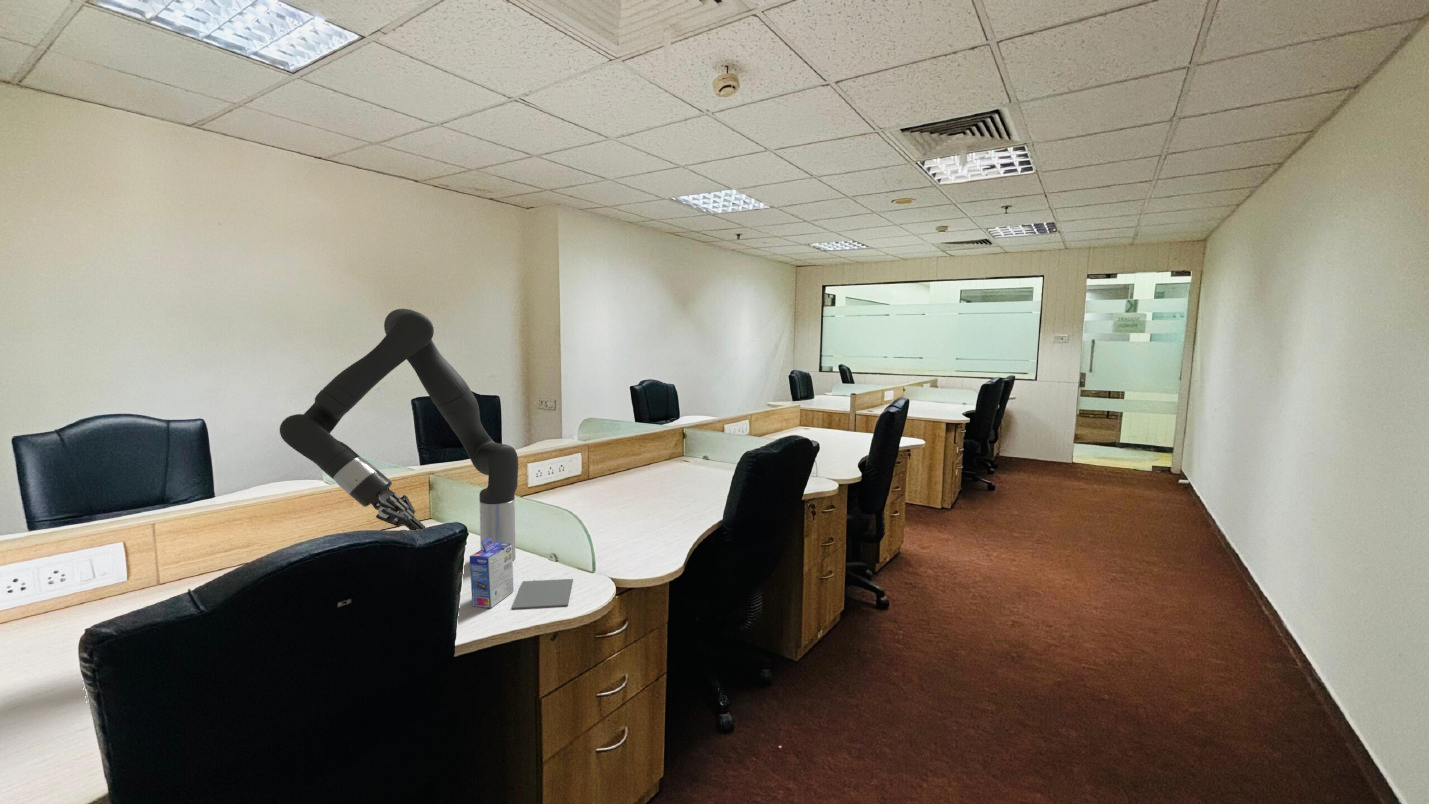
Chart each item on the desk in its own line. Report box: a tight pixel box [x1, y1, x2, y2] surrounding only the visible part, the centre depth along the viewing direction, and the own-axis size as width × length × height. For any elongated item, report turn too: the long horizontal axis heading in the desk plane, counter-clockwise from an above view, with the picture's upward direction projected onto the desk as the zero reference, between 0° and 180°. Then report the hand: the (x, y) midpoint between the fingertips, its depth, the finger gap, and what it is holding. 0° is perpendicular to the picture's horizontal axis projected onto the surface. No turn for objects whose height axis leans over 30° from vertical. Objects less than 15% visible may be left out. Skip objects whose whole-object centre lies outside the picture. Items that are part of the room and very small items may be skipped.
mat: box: [511, 578, 574, 610], centre depth 137 cm, size 15×12×1 cm
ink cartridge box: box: [469, 537, 514, 609], centre depth 133 cm, size 10×6×14 cm, turn 168°
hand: (422, 531), depth 130 cm, fingers closed
